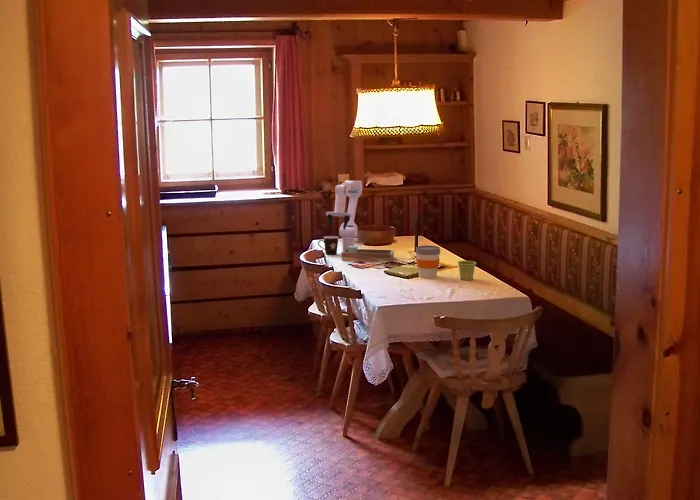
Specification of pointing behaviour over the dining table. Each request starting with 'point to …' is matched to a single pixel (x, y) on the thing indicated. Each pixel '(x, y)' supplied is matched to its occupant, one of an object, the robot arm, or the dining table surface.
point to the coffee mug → (330, 245)
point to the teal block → (352, 249)
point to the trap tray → (368, 255)
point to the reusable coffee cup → (427, 261)
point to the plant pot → (466, 269)
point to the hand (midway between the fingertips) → (337, 228)
